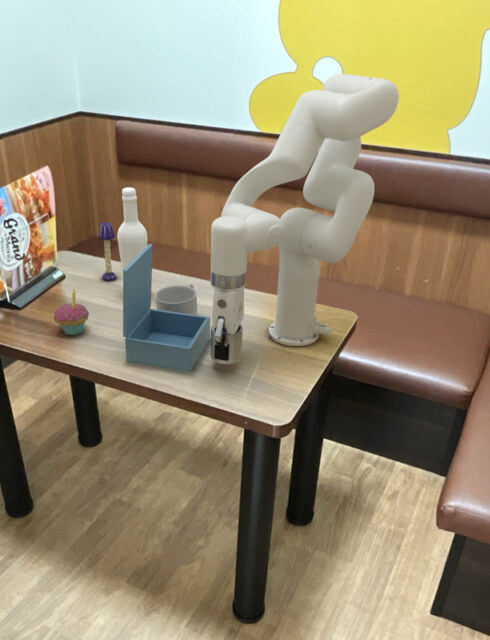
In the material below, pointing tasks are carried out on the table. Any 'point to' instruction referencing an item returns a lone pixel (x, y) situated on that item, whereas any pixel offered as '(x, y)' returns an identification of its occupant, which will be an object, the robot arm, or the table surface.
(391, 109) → the robot arm
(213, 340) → the steel cup
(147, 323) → the box
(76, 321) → the cupcake
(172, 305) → the teacup
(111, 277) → the toy lamp
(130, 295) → the lid
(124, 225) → the bottle
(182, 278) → the table surface
